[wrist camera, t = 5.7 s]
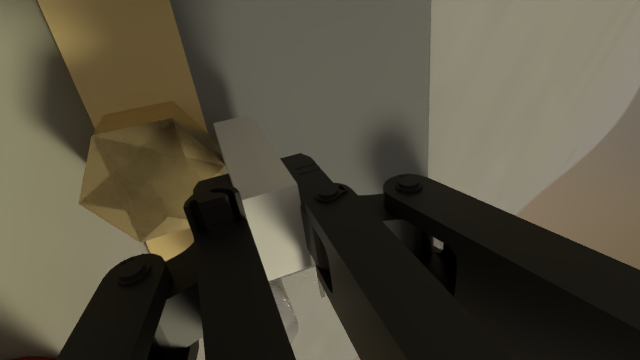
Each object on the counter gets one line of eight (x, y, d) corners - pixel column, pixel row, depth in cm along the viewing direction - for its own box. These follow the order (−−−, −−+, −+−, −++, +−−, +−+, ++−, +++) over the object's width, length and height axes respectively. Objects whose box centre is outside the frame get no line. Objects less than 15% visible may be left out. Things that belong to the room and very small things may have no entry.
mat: (177, 308, 19) (177, 314, 19) (4, -82, 11) (-1, -84, 11) (422, 223, 23) (426, 227, 23) (427, -117, 15) (433, -119, 15)
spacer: (226, 290, 20) (240, 368, 16) (212, 250, 19) (224, 324, 14) (275, 273, 21) (302, 343, 16) (266, 233, 19) (292, 299, 15)
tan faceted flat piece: (113, 218, 16) (104, 252, 14) (67, 122, 14) (47, 145, 12) (230, 186, 17) (238, 213, 15) (204, 93, 15) (209, 109, 13)
